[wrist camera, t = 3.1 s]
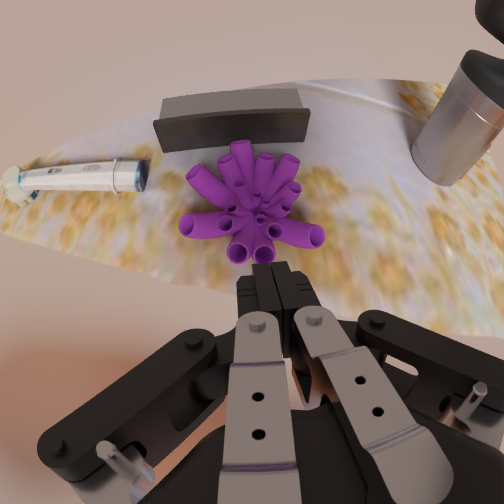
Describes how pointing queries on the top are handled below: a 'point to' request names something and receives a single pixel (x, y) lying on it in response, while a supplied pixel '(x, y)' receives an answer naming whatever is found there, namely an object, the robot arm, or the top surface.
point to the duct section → (231, 119)
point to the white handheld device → (75, 178)
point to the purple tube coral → (250, 205)
